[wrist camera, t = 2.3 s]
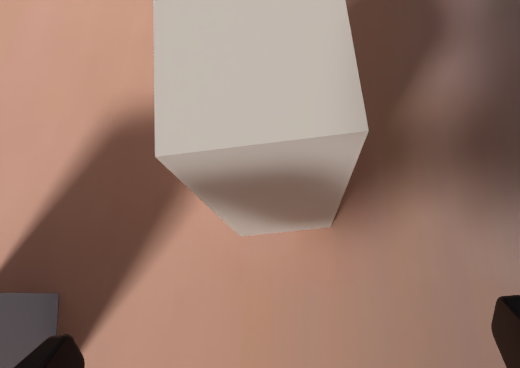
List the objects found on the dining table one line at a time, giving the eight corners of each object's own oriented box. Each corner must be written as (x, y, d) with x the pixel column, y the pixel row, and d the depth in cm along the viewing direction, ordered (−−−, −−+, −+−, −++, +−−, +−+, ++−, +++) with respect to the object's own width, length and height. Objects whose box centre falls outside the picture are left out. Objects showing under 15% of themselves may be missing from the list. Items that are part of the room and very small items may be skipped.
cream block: (330, 227, 21) (368, 131, 9) (240, 236, 22) (155, 156, 9) (318, 142, 23) (337, -44, 10) (234, 152, 23) (153, -15, 11)
